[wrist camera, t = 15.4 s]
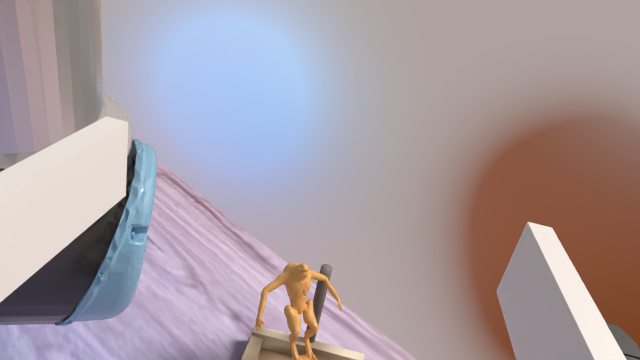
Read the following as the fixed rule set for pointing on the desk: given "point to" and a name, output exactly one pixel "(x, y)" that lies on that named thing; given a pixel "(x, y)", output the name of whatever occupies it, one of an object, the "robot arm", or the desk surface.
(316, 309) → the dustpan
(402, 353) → the desk surface
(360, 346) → the desk surface
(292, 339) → the figurine
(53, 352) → the desk surface
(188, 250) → the desk surface
